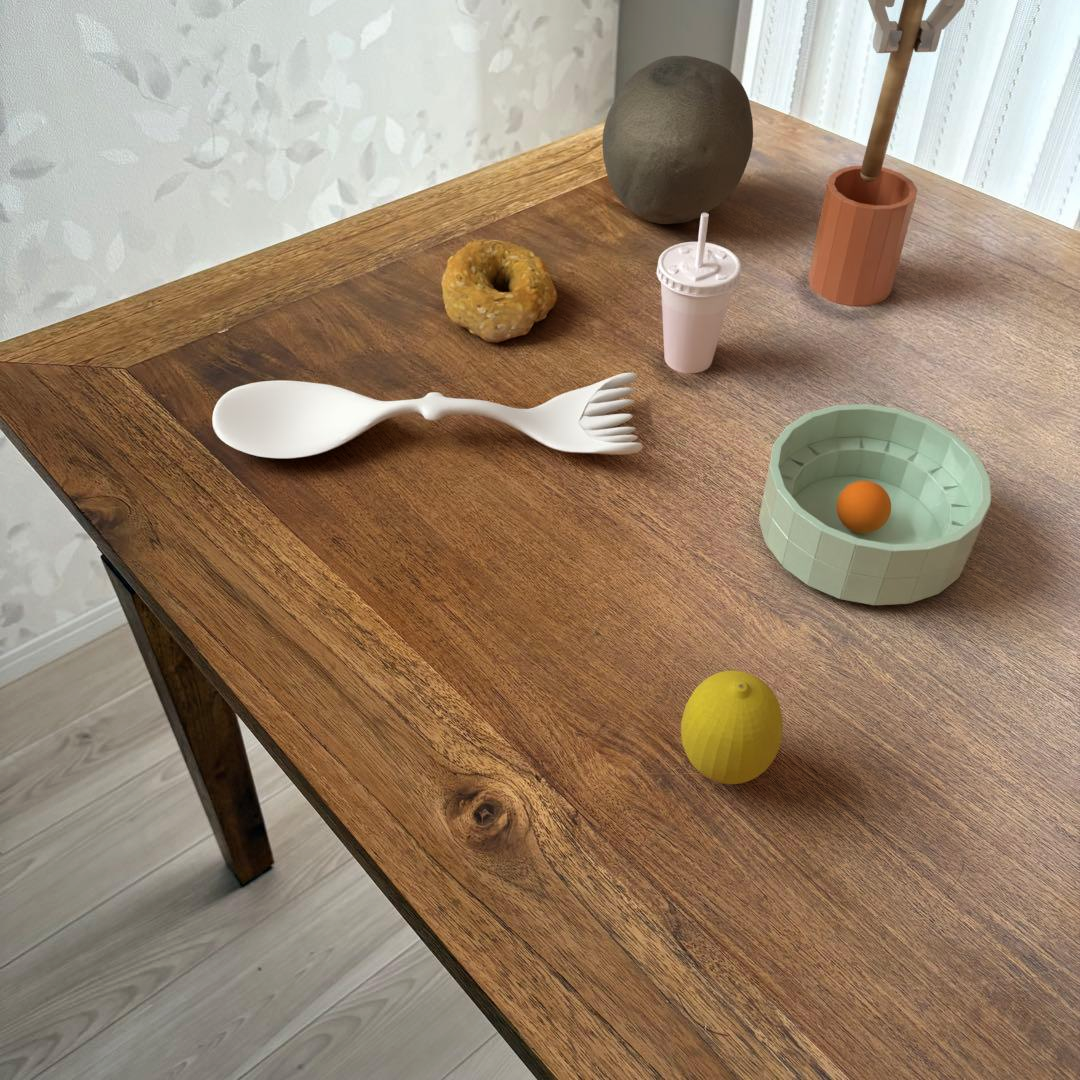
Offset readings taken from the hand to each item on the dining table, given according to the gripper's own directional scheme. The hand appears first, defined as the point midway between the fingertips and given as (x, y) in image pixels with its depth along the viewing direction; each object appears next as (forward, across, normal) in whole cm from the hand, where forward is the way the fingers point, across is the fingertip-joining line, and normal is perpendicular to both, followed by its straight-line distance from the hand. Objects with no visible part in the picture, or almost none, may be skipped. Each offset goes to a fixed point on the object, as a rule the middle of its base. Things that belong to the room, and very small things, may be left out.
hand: (903, 49), depth 83 cm
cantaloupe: (+21, -14, +13) cm, 29 cm away
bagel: (+21, -31, -1) cm, 38 cm away
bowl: (+21, -7, -30) cm, 37 cm away
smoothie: (+21, -16, -10) cm, 28 cm away
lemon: (+21, -20, -48) cm, 56 cm away
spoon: (+21, -37, -18) cm, 46 cm away
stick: (+11, 0, +1) cm, 11 cm away
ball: (+18, -7, -30) cm, 36 cm away
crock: (+21, 0, 0) cm, 21 cm away
